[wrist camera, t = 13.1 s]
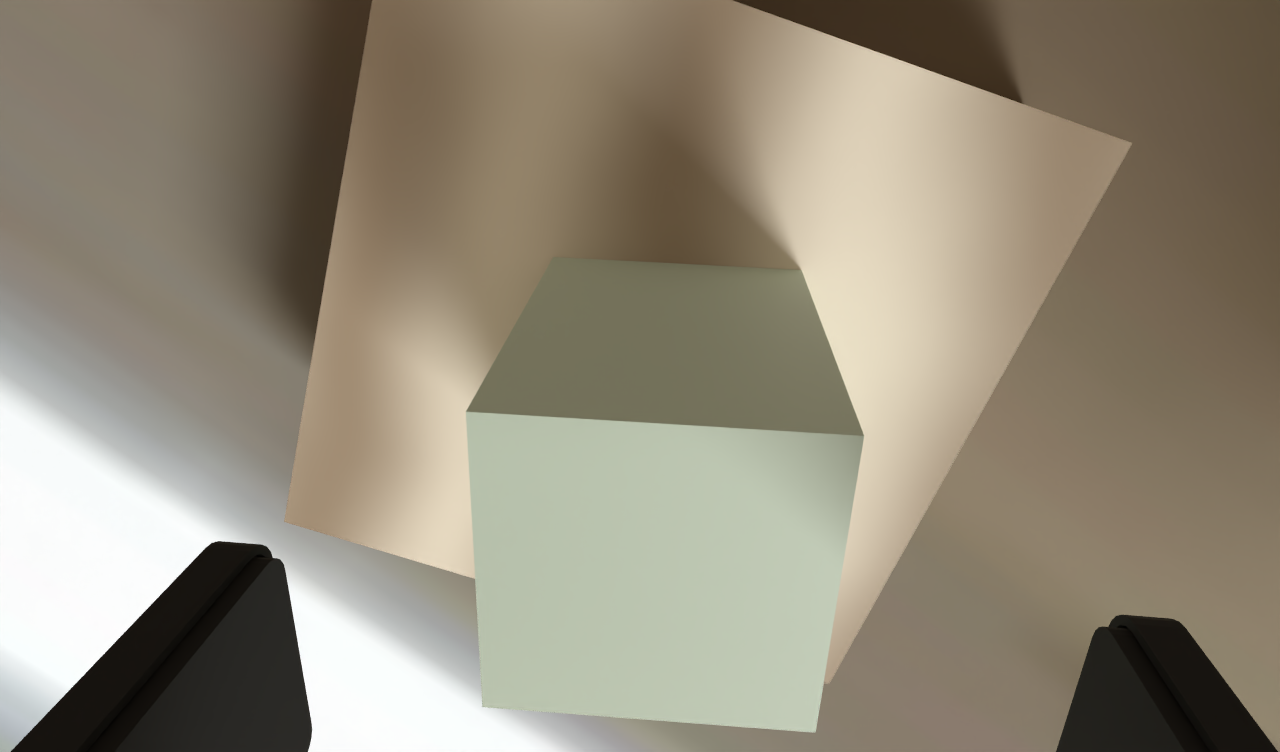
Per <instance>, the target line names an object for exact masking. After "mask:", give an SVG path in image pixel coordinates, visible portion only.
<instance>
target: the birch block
mask: <svg viewBox="0 0 1280 752" xmlns="http://www.w3.org/2000/svg"><path fill="white" fill-rule="evenodd" d="M1131 145H1132V143H1130V142H1128V141H1125V140H1122V139H1119V138H1116V137H1114V136H1111V135H1108V134H1105V133H1102V132H1100V131H1097V130H1094V129H1091V128H1088V127H1086V126H1083V125H1080V124H1077V123H1075V122H1072V121H1069V120H1066V119H1063V118H1061V117H1058V116H1055V115H1052V114H1049V113H1047V112H1044V111H1041V110H1038V109H1035V108H1033V107H1030V106H1027V105H1024V104H1021V103H1019V102H1016V101H1013V100H1010V99H1007V98H1005V97H1002V96H999V95H996V94H993V93H991V92H988V91H985V90H982V89H979V88H977V87H974V86H971V85H968V84H965V83H963V82H960V81H957V80H954V79H951V78H949V77H946V76H943V75H940V74H937V73H935V72H932V71H929V70H926V69H923V68H921V67H918V66H915V65H912V64H909V63H907V62H904V61H901V60H898V59H895V58H893V57H890V56H887V55H884V54H881V53H879V52H876V51H873V50H870V49H867V48H865V47H862V46H859V45H856V44H853V43H851V42H848V41H845V40H842V39H839V38H837V37H834V36H831V35H828V34H825V33H823V32H820V31H817V30H814V29H811V28H809V27H806V26H803V25H800V24H797V23H795V22H792V21H789V20H786V19H783V18H781V17H778V16H775V15H772V14H769V13H767V12H764V11H761V10H758V9H755V8H753V7H750V6H747V5H744V4H741V3H739V2H736V1H733V0H372V4H371V10H370V16H369V22H368V28H367V34H366V40H365V46H364V52H363V58H362V64H361V70H360V75H359V81H358V87H357V93H356V99H355V105H354V111H353V117H352V123H351V129H350V135H349V141H348V147H347V152H346V158H345V164H344V170H343V176H342V182H341V188H340V194H339V200H338V206H337V212H336V218H335V224H334V230H333V235H332V241H331V247H330V253H329V259H328V265H327V271H326V277H325V283H324V289H323V295H322V301H321V307H320V312H319V318H318V324H317V330H316V336H315V342H314V348H313V354H312V360H311V366H310V372H309V378H308V384H307V390H306V395H305V401H304V407H303V413H302V419H301V425H300V431H299V437H298V443H297V449H296V455H295V461H294V467H293V472H292V478H291V484H290V490H289V496H288V502H287V508H286V514H285V520H284V522H287V523H290V524H294V525H297V526H300V527H304V528H307V529H310V530H314V531H317V532H320V533H324V534H327V535H330V536H334V537H337V538H340V539H344V540H347V541H350V542H354V543H357V544H361V545H364V546H367V547H371V548H374V549H377V550H381V551H384V552H387V553H391V554H394V555H397V556H401V557H404V558H407V559H411V560H414V561H418V562H421V563H424V564H428V565H431V566H434V567H438V568H441V569H444V570H448V571H451V572H454V573H458V574H461V575H464V576H468V577H471V578H475V565H474V548H473V530H472V513H471V495H470V477H469V460H468V442H467V424H466V410H467V409H468V407H469V405H470V403H471V402H472V400H473V398H474V396H475V395H476V393H477V391H478V389H479V387H480V386H481V384H482V382H483V380H484V379H485V377H486V375H487V373H488V372H489V370H490V368H491V366H492V364H493V363H494V361H495V359H496V357H497V356H498V354H499V352H500V350H501V349H502V347H503V345H504V343H505V341H506V340H507V338H508V336H509V334H510V333H511V331H512V329H513V327H514V326H515V324H516V322H517V320H518V318H519V317H520V315H521V313H522V311H523V310H524V308H525V306H526V304H527V303H528V301H529V299H530V297H531V296H532V294H533V292H534V290H535V288H536V287H537V285H538V283H539V281H540V280H541V278H542V276H543V274H544V273H545V271H546V269H547V267H548V265H549V264H550V262H551V260H552V258H553V257H564V258H583V259H602V260H621V261H640V262H659V263H678V264H697V265H716V266H735V267H755V268H774V269H793V270H802V273H803V275H804V278H805V281H806V283H807V286H808V289H809V291H810V294H811V297H812V299H813V302H814V304H815V307H816V310H817V312H818V315H819V318H820V320H821V323H822V326H823V328H824V331H825V334H826V336H827V339H828V341H829V344H830V347H831V349H832V352H833V355H834V357H835V360H836V363H837V365H838V368H839V371H840V373H841V376H842V378H843V381H844V384H845V386H846V389H847V392H848V394H849V397H850V400H851V402H852V405H853V408H854V410H855V413H856V415H857V418H858V421H859V423H860V426H861V429H862V431H863V434H864V441H863V447H862V453H861V459H860V465H859V471H858V477H857V483H856V489H855V495H854V501H853V507H852V513H851V520H850V526H849V532H848V538H847V544H846V550H845V556H844V562H843V568H842V574H841V580H840V586H839V592H838V598H837V604H836V611H835V617H834V623H833V629H832V635H831V641H830V647H829V653H828V659H827V665H826V671H825V677H824V683H827V684H829V683H830V681H831V679H832V678H833V676H834V674H835V672H836V671H837V669H838V667H839V665H840V663H841V662H842V660H843V658H844V656H845V655H846V653H847V651H848V649H849V647H850V646H851V644H852V642H853V640H854V639H855V637H856V635H857V633H858V631H859V630H860V628H861V626H862V624H863V622H864V621H865V619H866V617H867V615H868V614H869V612H870V610H871V608H872V606H873V605H874V603H875V601H876V599H877V598H878V596H879V594H880V592H881V590H882V589H883V587H884V585H885V583H886V581H887V580H888V578H889V576H890V574H891V573H892V571H893V569H894V567H895V565H896V564H897V562H898V560H899V558H900V557H901V555H902V553H903V551H904V549H905V548H906V546H907V544H908V542H909V540H910V539H911V537H912V535H913V533H914V532H915V530H916V528H917V526H918V524H919V523H920V521H921V519H922V517H923V516H924V514H925V512H926V510H927V508H928V507H929V505H930V503H931V501H932V499H933V498H934V496H935V494H936V492H937V491H938V489H939V487H940V485H941V483H942V482H943V480H944V478H945V476H946V475H947V473H948V471H949V469H950V467H951V466H952V464H953V462H954V460H955V458H956V457H957V455H958V453H959V451H960V450H961V448H962V446H963V444H964V442H965V441H966V439H967V437H968V435H969V434H970V432H971V430H972V428H973V426H974V425H975V423H976V421H977V419H978V417H979V416H980V414H981V412H982V410H983V409H984V407H985V405H986V403H987V401H988V400H989V398H990V396H991V394H992V393H993V391H994V389H995V387H996V385H997V384H998V382H999V380H1000V378H1001V377H1002V375H1003V373H1004V371H1005V369H1006V368H1007V366H1008V364H1009V362H1010V360H1011V359H1012V357H1013V355H1014V353H1015V352H1016V350H1017V348H1018V346H1019V344H1020V343H1021V341H1022V339H1023V337H1024V336H1025V334H1026V332H1027V330H1028V328H1029V327H1030V325H1031V323H1032V321H1033V319H1034V318H1035V316H1036V314H1037V312H1038V311H1039V309H1040V307H1041V305H1042V303H1043V302H1044V300H1045V298H1046V296H1047V295H1048V293H1049V291H1050V289H1051V287H1052V286H1053V284H1054V282H1055V280H1056V278H1057V277H1058V275H1059V273H1060V271H1061V270H1062V268H1063V266H1064V264H1065V262H1066V261H1067V259H1068V257H1069V255H1070V254H1071V252H1072V250H1073V248H1074V246H1075V245H1076V243H1077V241H1078V239H1079V237H1080V236H1081V234H1082V232H1083V230H1084V229H1085V227H1086V225H1087V223H1088V221H1089V220H1090V218H1091V216H1092V214H1093V213H1094V211H1095V209H1096V207H1097V205H1098V204H1099V202H1100V200H1101V198H1102V196H1103V195H1104V193H1105V191H1106V189H1107V188H1108V186H1109V184H1110V182H1111V180H1112V179H1113V177H1114V175H1115V173H1116V172H1117V170H1118V168H1119V166H1120V164H1121V163H1122V161H1123V159H1124V157H1125V156H1126V154H1127V152H1128V150H1129V148H1130V147H1131Z"/></svg>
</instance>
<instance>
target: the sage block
mask: <svg viewBox="0 0 1280 752" xmlns="http://www.w3.org/2000/svg"><path fill="white" fill-rule="evenodd" d="M466 424H467V442H468V460H469V477H470V495H471V513H472V530H473V548H474V565H475V583H476V601H477V618H478V636H479V654H480V671H481V689H482V706H483V707H488V708H501V709H515V710H528V711H541V712H554V713H567V714H580V715H593V716H606V717H619V718H632V719H645V720H658V721H671V722H685V723H698V724H711V725H724V726H737V727H750V728H763V729H776V730H789V731H802V732H816V726H817V720H818V714H819V708H820V702H821V696H822V689H823V683H824V677H825V671H826V665H827V659H828V653H829V647H830V641H831V635H832V629H833V623H834V617H835V611H836V604H837V598H838V592H839V586H840V580H841V574H842V568H843V562H844V556H845V550H846V544H847V538H848V532H849V526H850V520H851V513H852V507H853V501H854V495H855V489H856V483H857V477H858V471H859V465H860V459H861V453H862V447H863V441H864V434H863V431H862V429H861V426H860V423H859V421H858V418H857V415H856V413H855V410H854V408H853V405H852V402H851V400H850V397H849V394H848V392H847V389H846V386H845V384H844V381H843V378H842V376H841V373H840V371H839V368H838V365H837V363H836V360H835V357H834V355H833V352H832V349H831V347H830V344H829V341H828V339H827V336H826V334H825V331H824V328H823V326H822V323H821V320H820V318H819V315H818V312H817V310H816V307H815V304H814V302H813V299H812V297H811V294H810V291H809V289H808V286H807V283H806V281H805V278H804V275H803V273H802V270H793V269H774V268H755V267H735V266H716V265H697V264H678V263H659V262H640V261H621V260H602V259H583V258H564V257H553V258H552V260H551V262H550V264H549V265H548V267H547V269H546V271H545V273H544V274H543V276H542V278H541V280H540V281H539V283H538V285H537V287H536V288H535V290H534V292H533V294H532V296H531V297H530V299H529V301H528V303H527V304H526V306H525V308H524V310H523V311H522V313H521V315H520V317H519V318H518V320H517V322H516V324H515V326H514V327H513V329H512V331H511V333H510V334H509V336H508V338H507V340H506V341H505V343H504V345H503V347H502V349H501V350H500V352H499V354H498V356H497V357H496V359H495V361H494V363H493V364H492V366H491V368H490V370H489V372H488V373H487V375H486V377H485V379H484V380H483V382H482V384H481V386H480V387H479V389H478V391H477V393H476V395H475V396H474V398H473V400H472V402H471V403H470V405H469V407H468V409H467V410H466Z"/></svg>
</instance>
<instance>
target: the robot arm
mask: <svg viewBox="0 0 1280 752" xmlns="http://www.w3.org/2000/svg"><path fill="white" fill-rule="evenodd" d="M311 735H312V724H311V718H310V712H309V706H308V700H307V695H306V689H305V683H304V677H303V671H302V665H301V660H300V654H299V648H298V642H297V636H296V630H295V625H294V619H293V613H292V607H291V601H290V595H289V590H288V584H287V578H286V572H285V568H284V564H283V563H282V561H281V560H280V559H277V558H272V554H271V552H270V550H269V549H268V548H267V547H266V546H264V545H259V544H246V543H234V542H222V541H218V542H214V543H211V544H210V545H209V546H208V547H206V548H205V549H204V550H203V551H202V552H201V553H200V554H199V556H198V557H197V558H196V559H195V560H194V561H193V562H192V563H191V564H190V565H189V566H188V567H187V568H186V569H185V570H184V571H183V572H182V573H181V574H180V575H179V576H178V577H177V578H176V580H175V581H174V582H173V583H172V584H171V585H170V586H169V587H168V588H167V589H166V590H165V591H164V592H163V593H162V594H161V595H160V596H159V597H158V598H157V599H156V600H155V601H154V603H153V604H152V605H151V606H150V607H149V608H148V609H147V610H146V611H145V612H144V613H143V614H142V615H141V616H140V617H139V618H138V619H137V620H136V621H135V622H134V623H133V624H132V626H131V627H130V628H129V629H128V630H127V631H126V632H125V633H124V634H123V635H122V636H121V637H120V638H119V639H118V640H117V641H116V642H115V643H114V644H113V645H112V646H111V647H110V648H109V650H108V651H107V652H106V653H105V654H104V655H103V656H102V657H101V658H100V659H99V660H98V661H97V662H96V663H95V664H94V665H93V666H92V667H91V668H90V669H89V670H88V671H87V673H86V674H85V675H84V676H83V677H82V678H81V679H80V680H79V681H78V682H77V683H76V684H75V685H74V686H73V687H72V688H71V689H70V690H69V691H68V692H67V693H66V694H65V696H64V697H63V698H62V699H61V700H60V701H59V702H58V703H57V704H56V705H55V706H54V707H53V708H52V709H51V710H50V711H49V712H48V713H47V714H46V715H45V716H44V717H43V718H42V720H41V721H40V722H39V723H38V724H37V725H36V726H35V727H34V728H33V729H32V730H31V731H30V732H29V733H28V734H27V735H26V736H25V737H24V738H23V739H22V740H21V741H20V743H19V744H18V745H17V746H16V747H15V748H14V749H13V750H12V751H11V752H308V749H309V746H310V741H311ZM1056 752H1278V751H1277V750H1276V749H1275V747H1274V746H1273V745H1272V743H1271V742H1270V740H1269V739H1268V738H1267V736H1266V735H1265V734H1264V732H1263V731H1262V730H1261V728H1260V727H1259V726H1258V724H1257V723H1256V722H1255V720H1254V719H1253V718H1252V716H1251V715H1250V714H1249V712H1248V711H1247V710H1246V708H1245V707H1244V706H1243V704H1242V703H1241V702H1240V700H1239V699H1238V698H1237V696H1236V695H1235V694H1234V692H1233V691H1232V690H1231V688H1230V687H1229V686H1228V684H1227V683H1226V682H1225V680H1224V679H1223V678H1222V676H1221V675H1220V673H1219V672H1218V671H1217V669H1216V668H1215V667H1214V665H1213V664H1212V663H1211V661H1210V660H1209V659H1208V657H1207V656H1206V655H1205V653H1204V652H1203V651H1202V649H1201V648H1200V647H1199V645H1198V644H1197V643H1196V641H1195V640H1194V639H1193V637H1192V636H1191V635H1190V633H1189V632H1188V631H1187V629H1186V628H1185V627H1184V626H1183V625H1182V624H1181V623H1180V622H1179V621H1176V620H1174V619H1168V618H1156V617H1143V616H1131V615H1119V616H1116V617H1115V618H1114V619H1113V620H1112V621H1111V623H1110V625H1109V627H1099V628H1098V629H1097V630H1096V631H1095V633H1094V635H1093V637H1092V640H1091V643H1090V646H1089V650H1088V653H1087V656H1086V659H1085V662H1084V665H1083V668H1082V672H1081V675H1080V678H1079V681H1078V684H1077V687H1076V691H1075V694H1074V697H1073V700H1072V703H1071V706H1070V710H1069V713H1068V716H1067V719H1066V722H1065V725H1064V729H1063V732H1062V735H1061V738H1060V741H1059V744H1058V748H1057V751H1056Z"/></svg>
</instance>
